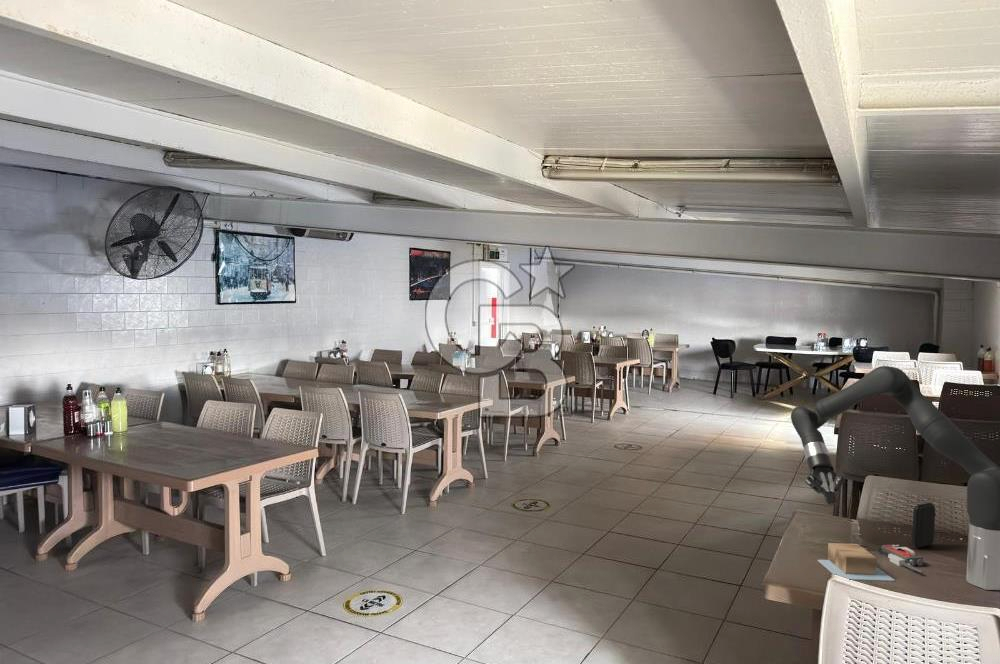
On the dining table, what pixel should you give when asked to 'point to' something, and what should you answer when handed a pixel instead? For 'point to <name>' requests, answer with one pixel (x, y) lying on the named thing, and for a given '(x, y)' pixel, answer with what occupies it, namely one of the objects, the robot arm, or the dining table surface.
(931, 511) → the carrying case or bag
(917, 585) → the dining table surface
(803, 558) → the dining table surface
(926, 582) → the dining table surface
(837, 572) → the mat
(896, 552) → the walkie-talkie
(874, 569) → the wood grain block
